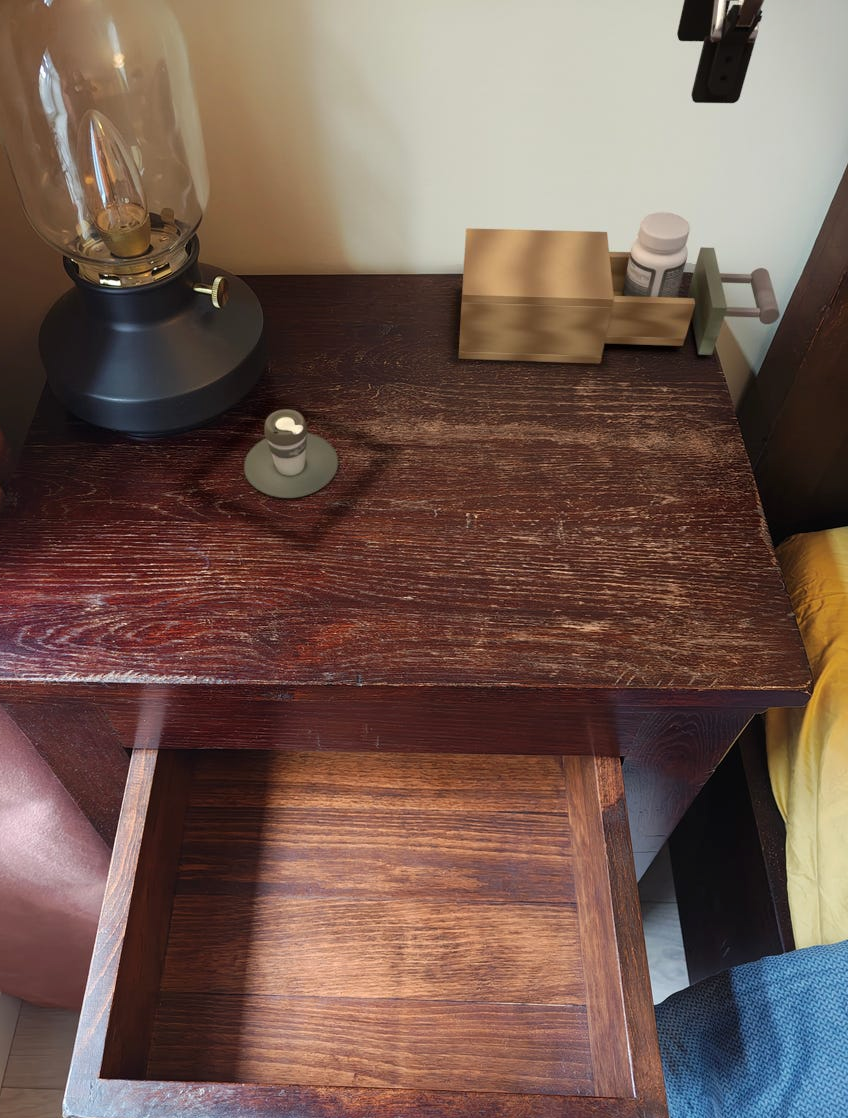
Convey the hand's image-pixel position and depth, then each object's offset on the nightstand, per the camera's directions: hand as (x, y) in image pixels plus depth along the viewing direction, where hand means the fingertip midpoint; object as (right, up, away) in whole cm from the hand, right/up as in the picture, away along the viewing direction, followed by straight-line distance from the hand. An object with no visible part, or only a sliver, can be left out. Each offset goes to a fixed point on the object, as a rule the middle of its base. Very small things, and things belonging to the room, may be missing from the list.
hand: (705, 69), depth 68 cm
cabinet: (-10, -13, +19) cm, 25 cm away
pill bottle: (0, -12, +17) cm, 21 cm away
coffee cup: (-31, -28, +9) cm, 42 cm away
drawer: (+3, -13, +17) cm, 22 cm away
